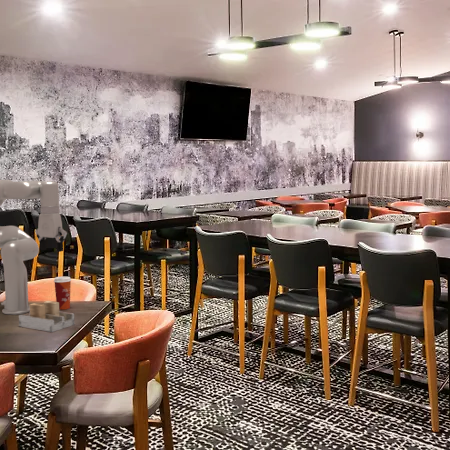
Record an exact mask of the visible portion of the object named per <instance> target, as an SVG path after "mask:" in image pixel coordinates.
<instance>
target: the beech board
mask: <svg viewBox="0 0 450 450" xmlns="http://www.w3.org/2000/svg"><path fill="white" fill-rule="evenodd" d="M43 305H45V314H51V315H57V316H59V311H60V310H59V302H56V301H51V300H46V301H44V302H43Z"/></svg>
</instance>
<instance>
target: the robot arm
mask: <svg viewBox="0 0 450 450" xmlns="http://www.w3.org/2000/svg"><path fill="white" fill-rule="evenodd" d="M59 194H60V193H59V183H58V182H57V181H52V180H51V181H48V180H47V181H43V180H26V181H24V180H23V181H13V180H11V179H0V207H1V206H2V205H3V204H4V202H5V201H7V200H30V199H31V200H32V199H40V200H39V201H40V209H39V210H40V213H39V215H38V222H37V223H38V228H37V229H35V231H34V233H35V234H36V238H37V239H38V242H39V244H38V243H37V242H36V241H35V239H34V238H32V237H31V236H30V235H29V234H28V233H26V232H25V231H24V230H23V229H21V228H19V227H18V226H16V225H6V226H5V225H4V226H1V225H0V256H1V260H2V264H3V272H4V294H5V299H4V300H3V301H2V302H0V303H1V306H4V308H3V309H2V314H5V315H24V314H27V313H29V312H30V305H29V286H28V284H29V282H28V270H27V267H26V265H25V263H24V262H25V261H28V260H33V259H34V258H36V257H37V256H38V255H39V252H40V251H46V250H47V240H46V239H48V238H49V239H54V238H55V240H56V241H57V242H56V243H55V244H56V252H57V253H58V252H59V253H60V252H63V251H64V242H65V240H66V239H67V234H68V231H66V230H64V228H63V221H62V217H61V214H60V195H59Z"/></svg>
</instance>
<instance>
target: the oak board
mask: <svg viewBox="0 0 450 450" xmlns="http://www.w3.org/2000/svg"><path fill="white" fill-rule="evenodd" d="M29 306H30V314H29V316H33V317H39V318H45V305H44V304H41V303H30V304H29ZM45 319H46V318H45Z"/></svg>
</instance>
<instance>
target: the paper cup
mask: <svg viewBox="0 0 450 450" xmlns="http://www.w3.org/2000/svg"><path fill="white" fill-rule="evenodd" d="M53 279H54V280H53V282H54V292H55V302H59V311H63V310H70V307H71V284H72V283H71V282H72V279H71V277H70V276H56V277H54V278H53Z"/></svg>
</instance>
